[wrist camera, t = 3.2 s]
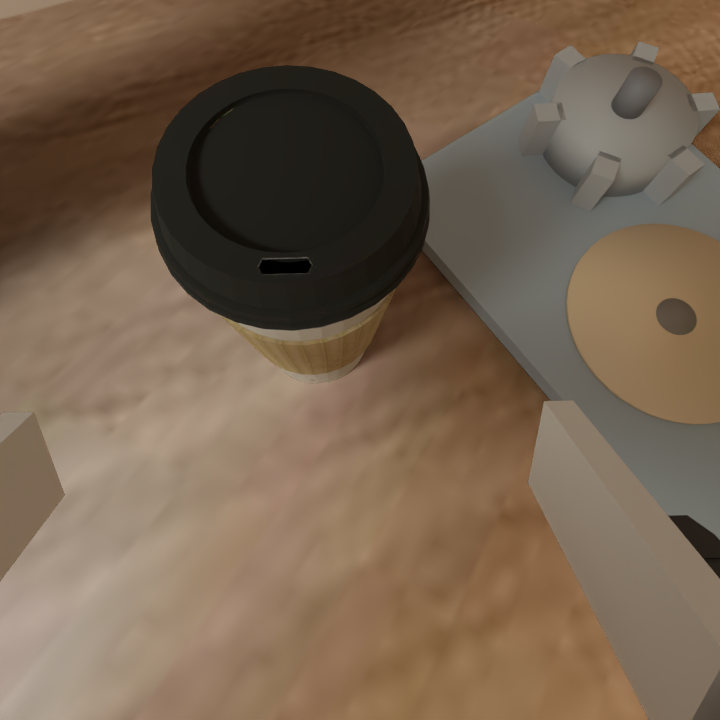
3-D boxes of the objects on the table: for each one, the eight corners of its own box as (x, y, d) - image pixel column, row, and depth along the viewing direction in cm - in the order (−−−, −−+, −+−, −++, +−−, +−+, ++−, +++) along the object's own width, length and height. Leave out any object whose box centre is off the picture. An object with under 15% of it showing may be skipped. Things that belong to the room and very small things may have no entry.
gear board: (377, 197, 33) (382, 127, 27) (590, 69, 37) (636, -16, 31) (710, 587, 25) (819, 608, 19) (931, 373, 29) (1077, 337, 23)
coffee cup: (391, 262, 31) (426, 48, 17) (402, 410, 28) (454, 300, 14) (240, 267, 31) (145, 52, 17) (234, 416, 28) (110, 311, 13)
